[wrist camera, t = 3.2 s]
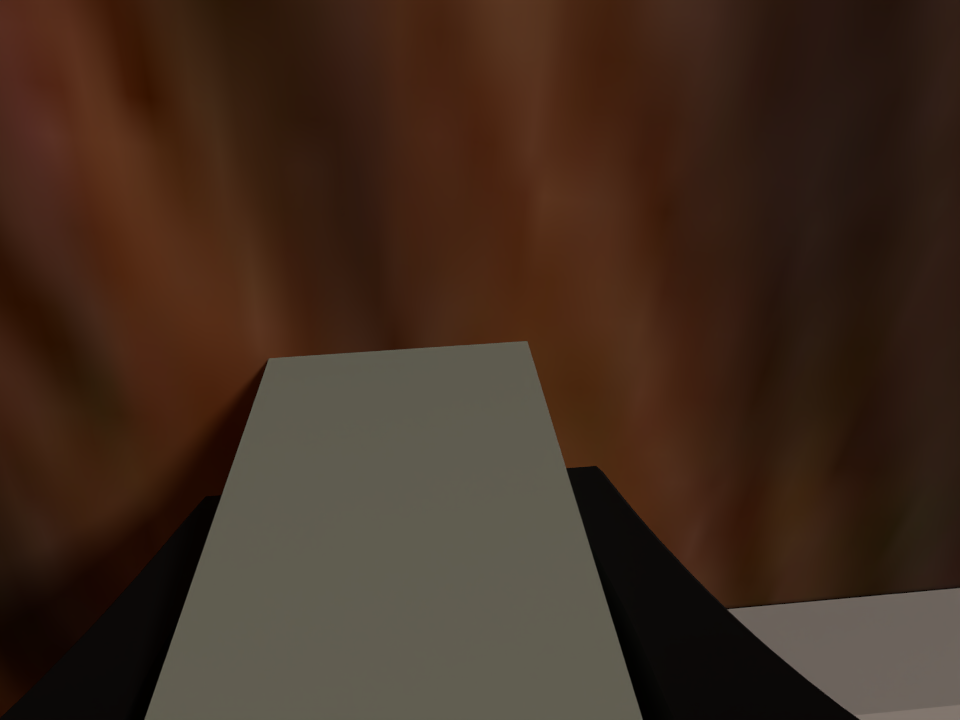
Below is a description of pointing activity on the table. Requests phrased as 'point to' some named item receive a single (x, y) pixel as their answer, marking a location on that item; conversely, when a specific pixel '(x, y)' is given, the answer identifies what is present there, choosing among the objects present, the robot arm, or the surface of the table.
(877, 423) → the table surface
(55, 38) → the table surface
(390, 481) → the sage block
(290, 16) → the table surface
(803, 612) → the serving tray
